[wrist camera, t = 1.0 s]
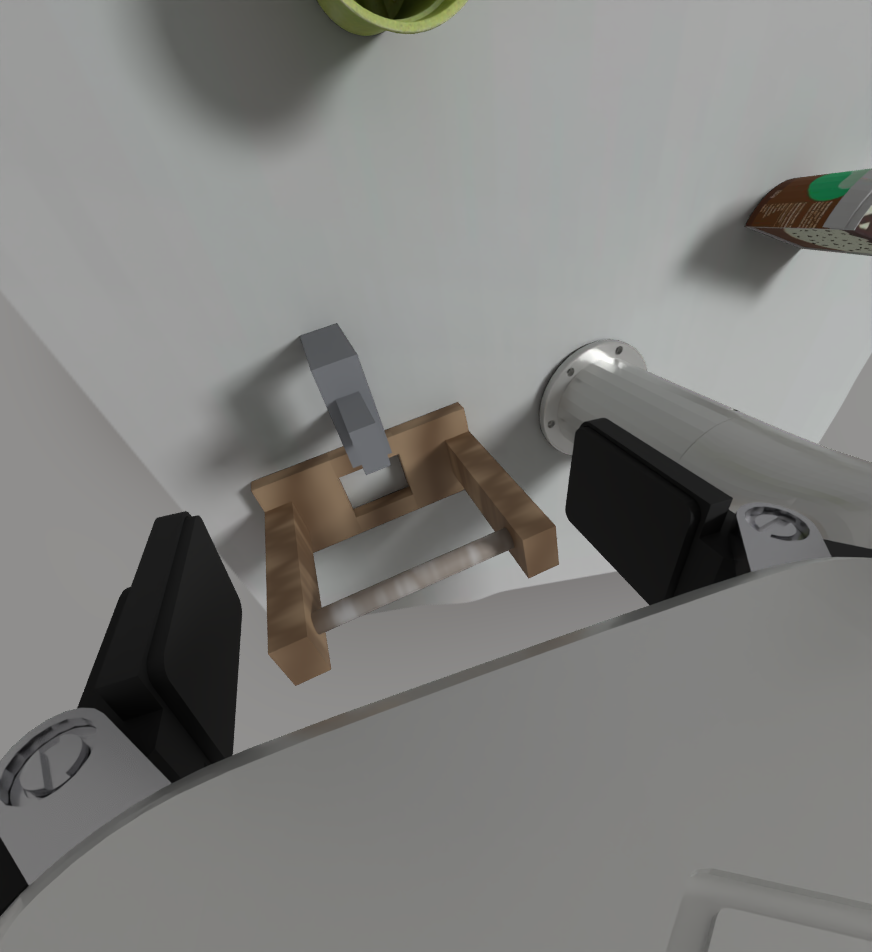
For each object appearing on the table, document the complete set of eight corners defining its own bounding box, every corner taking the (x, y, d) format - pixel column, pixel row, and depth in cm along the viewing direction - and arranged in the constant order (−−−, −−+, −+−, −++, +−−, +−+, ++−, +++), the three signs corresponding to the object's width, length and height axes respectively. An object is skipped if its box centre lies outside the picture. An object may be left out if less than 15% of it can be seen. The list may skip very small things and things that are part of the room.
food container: (847, 183, 43) (982, 179, 35) (809, 251, 46) (926, 262, 38) (771, 143, 38) (908, 128, 30) (734, 222, 41) (850, 228, 33)
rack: (457, 402, 41) (553, 498, 28) (474, 475, 46) (560, 585, 33) (251, 481, 38) (248, 631, 25) (294, 550, 43) (310, 703, 30)
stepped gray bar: (368, 407, 38) (411, 489, 27) (336, 420, 37) (367, 507, 27) (336, 323, 33) (374, 381, 23) (299, 335, 33) (320, 401, 22)
